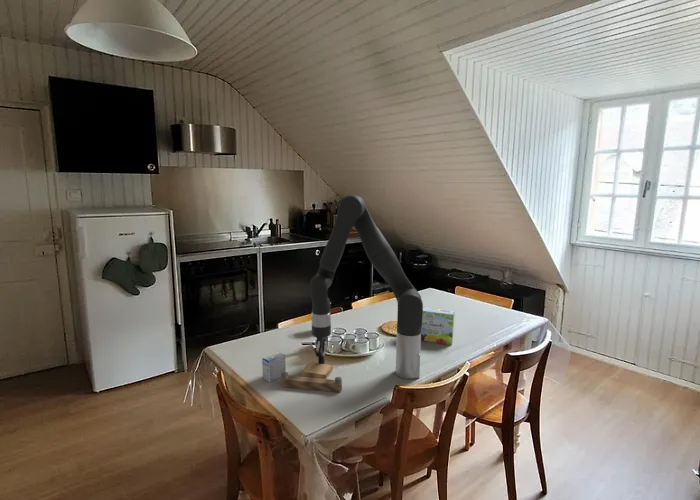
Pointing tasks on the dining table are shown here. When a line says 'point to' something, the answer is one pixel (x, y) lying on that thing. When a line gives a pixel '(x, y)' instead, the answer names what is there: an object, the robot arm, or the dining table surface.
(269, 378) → the medicine box
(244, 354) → the dining table surface
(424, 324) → the snack box
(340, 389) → the bar
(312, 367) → the light wooden block
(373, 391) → the dining table surface
